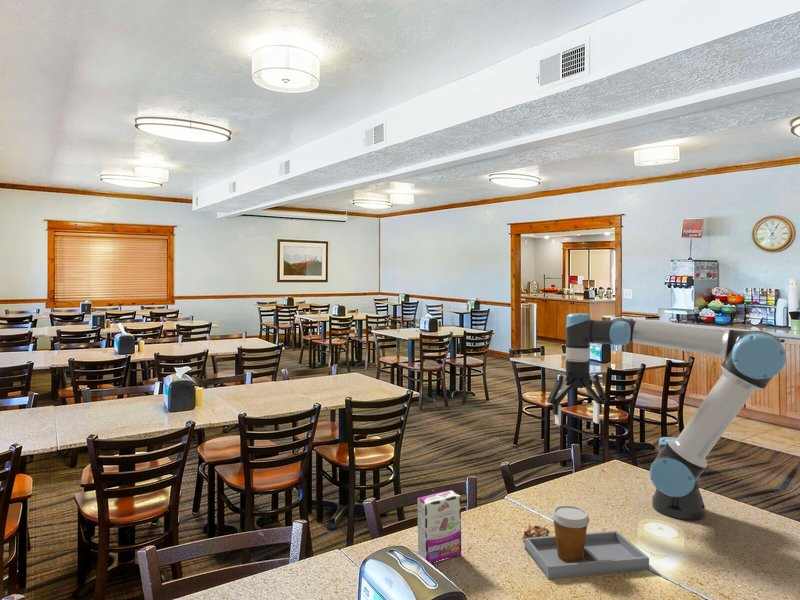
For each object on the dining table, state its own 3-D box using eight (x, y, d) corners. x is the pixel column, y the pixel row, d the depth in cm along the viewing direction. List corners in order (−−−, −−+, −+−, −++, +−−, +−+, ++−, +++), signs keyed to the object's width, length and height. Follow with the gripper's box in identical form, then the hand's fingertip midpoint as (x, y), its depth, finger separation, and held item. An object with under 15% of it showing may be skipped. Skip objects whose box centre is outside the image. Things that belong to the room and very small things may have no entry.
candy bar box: (451, 547, 142) (451, 489, 142) (461, 555, 138) (462, 495, 137) (416, 557, 137) (416, 496, 136) (426, 566, 132) (426, 503, 132)
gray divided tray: (616, 541, 145) (616, 530, 145) (648, 569, 131) (649, 557, 131) (524, 548, 141) (524, 538, 141) (548, 578, 127) (548, 566, 127)
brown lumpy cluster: (548, 529, 153) (549, 518, 153) (547, 549, 142) (547, 536, 142) (525, 526, 155) (525, 514, 155) (522, 545, 144) (522, 532, 144)
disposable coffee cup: (591, 568, 130) (592, 522, 129) (552, 564, 132) (553, 518, 131) (586, 549, 139) (586, 506, 139) (550, 546, 141) (550, 503, 141)
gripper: (606, 357, 175) (605, 419, 176) (537, 359, 171) (536, 422, 172) (618, 360, 168) (618, 424, 168) (547, 362, 164) (546, 428, 165)
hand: (577, 423), depth 170 cm, fingers open, 13 cm apart
